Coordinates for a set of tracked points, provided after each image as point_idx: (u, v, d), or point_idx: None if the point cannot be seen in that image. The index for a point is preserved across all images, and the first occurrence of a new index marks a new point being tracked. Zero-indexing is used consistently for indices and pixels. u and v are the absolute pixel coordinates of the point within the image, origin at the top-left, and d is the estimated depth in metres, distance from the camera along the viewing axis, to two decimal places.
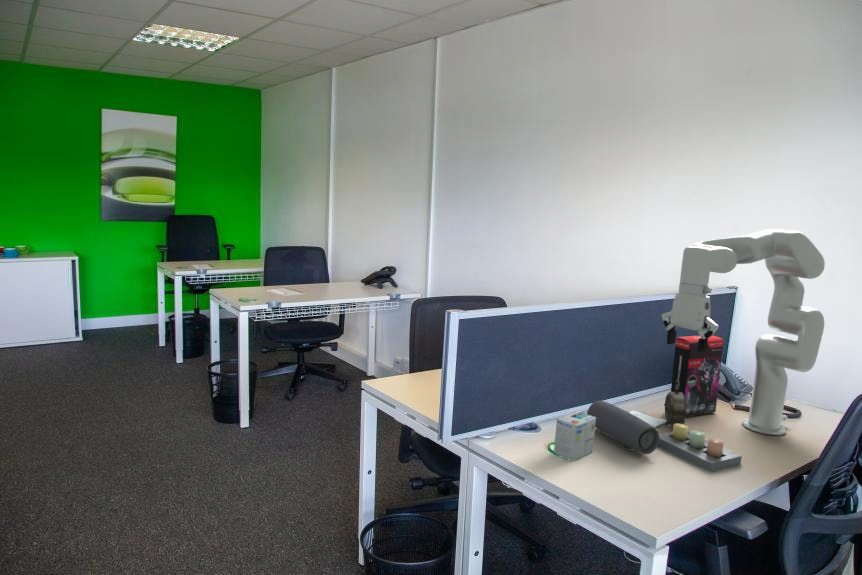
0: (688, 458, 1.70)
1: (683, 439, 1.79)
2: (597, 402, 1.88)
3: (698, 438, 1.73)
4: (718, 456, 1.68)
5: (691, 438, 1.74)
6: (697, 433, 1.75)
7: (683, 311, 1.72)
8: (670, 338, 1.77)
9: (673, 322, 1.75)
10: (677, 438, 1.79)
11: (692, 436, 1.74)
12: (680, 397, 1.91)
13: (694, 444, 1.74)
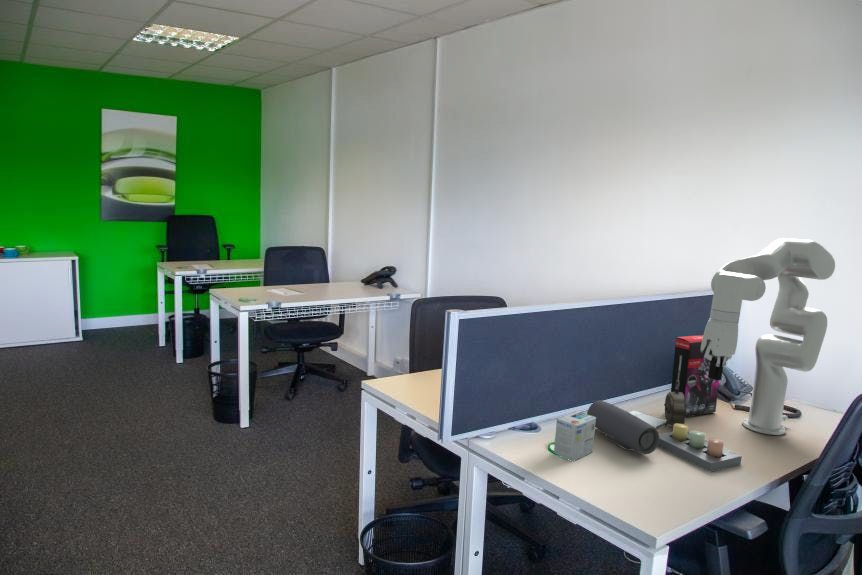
0: (688, 458, 1.70)
1: (683, 439, 1.79)
2: (597, 402, 1.88)
3: (698, 438, 1.73)
4: (718, 456, 1.68)
5: (691, 438, 1.74)
6: (697, 433, 1.75)
7: (727, 340, 1.70)
8: None
9: (717, 353, 1.69)
10: (677, 438, 1.79)
11: (692, 436, 1.74)
12: (680, 397, 1.91)
13: (694, 444, 1.74)
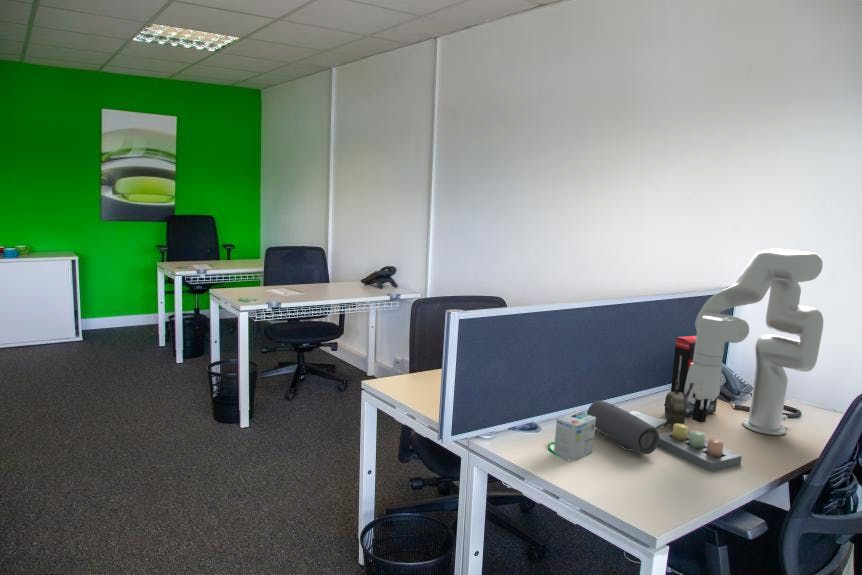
0: (688, 458, 1.70)
1: (683, 439, 1.79)
2: (597, 402, 1.88)
3: (698, 438, 1.73)
4: (718, 456, 1.68)
5: (691, 438, 1.74)
6: (697, 433, 1.75)
7: (710, 383, 1.70)
8: None
9: (700, 397, 1.69)
10: (677, 438, 1.79)
11: (692, 436, 1.74)
12: (680, 397, 1.91)
13: (694, 444, 1.74)
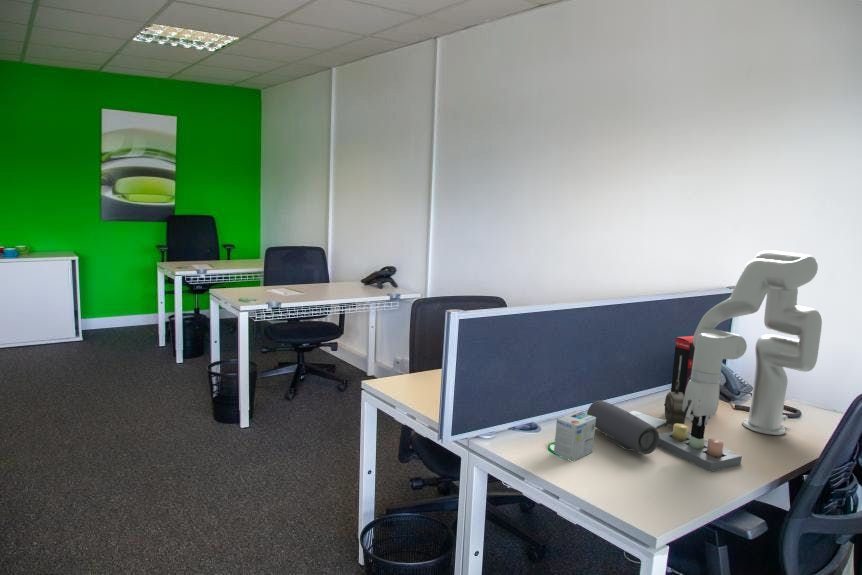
0: (688, 458, 1.70)
1: (683, 439, 1.79)
2: (597, 402, 1.88)
3: (697, 441, 1.73)
4: (718, 456, 1.68)
5: (691, 442, 1.75)
6: None
7: (708, 400, 1.71)
8: None
9: (698, 414, 1.70)
10: (677, 438, 1.79)
11: (691, 440, 1.74)
12: (679, 397, 1.91)
13: None
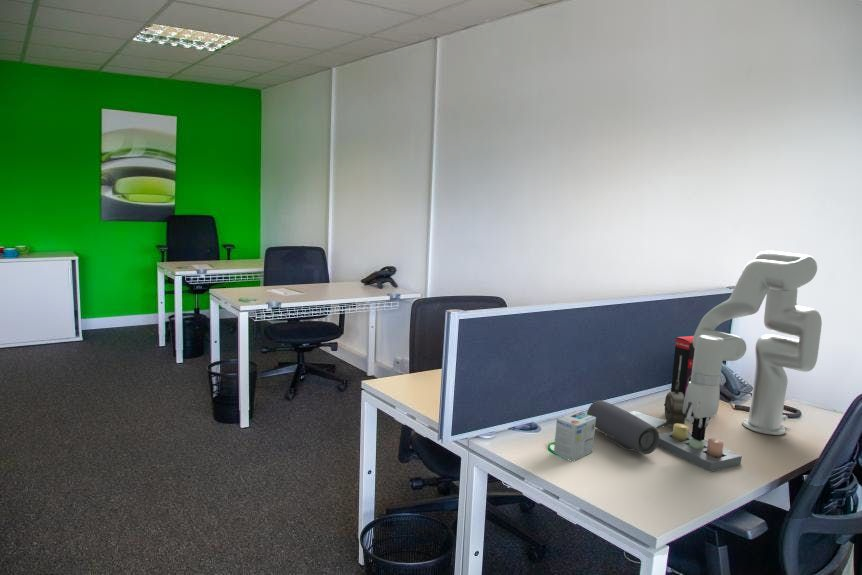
0: (688, 458, 1.70)
1: (683, 439, 1.79)
2: (597, 402, 1.88)
3: (697, 444, 1.73)
4: (718, 456, 1.68)
5: (690, 444, 1.75)
6: (696, 439, 1.75)
7: (708, 402, 1.71)
8: None
9: (698, 416, 1.70)
10: (677, 438, 1.79)
11: (691, 442, 1.74)
12: (679, 397, 1.91)
13: None
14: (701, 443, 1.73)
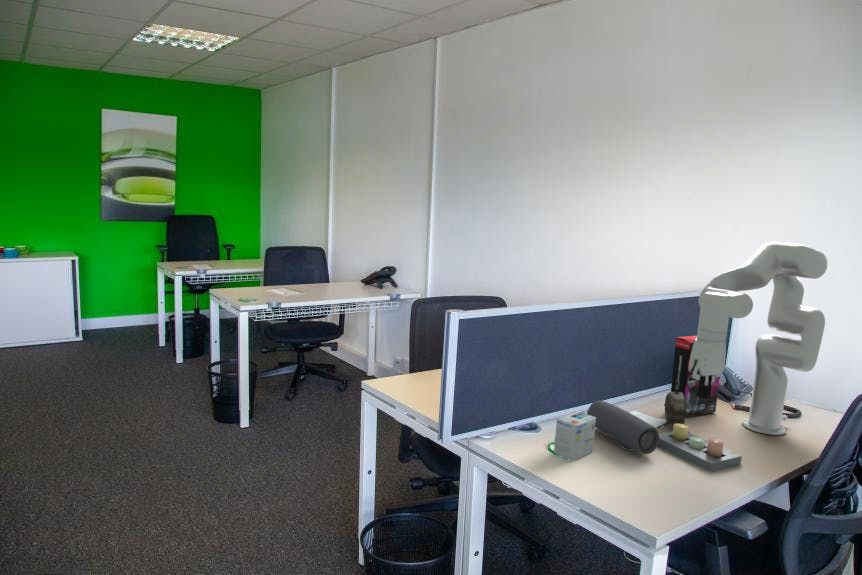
0: (688, 458, 1.70)
1: (683, 439, 1.79)
2: (597, 402, 1.88)
3: (697, 444, 1.73)
4: (718, 456, 1.68)
5: (690, 444, 1.75)
6: (696, 439, 1.75)
7: (715, 359, 1.69)
8: None
9: (705, 373, 1.69)
10: (677, 438, 1.79)
11: (691, 442, 1.74)
12: (680, 397, 1.91)
13: None
14: (701, 443, 1.73)
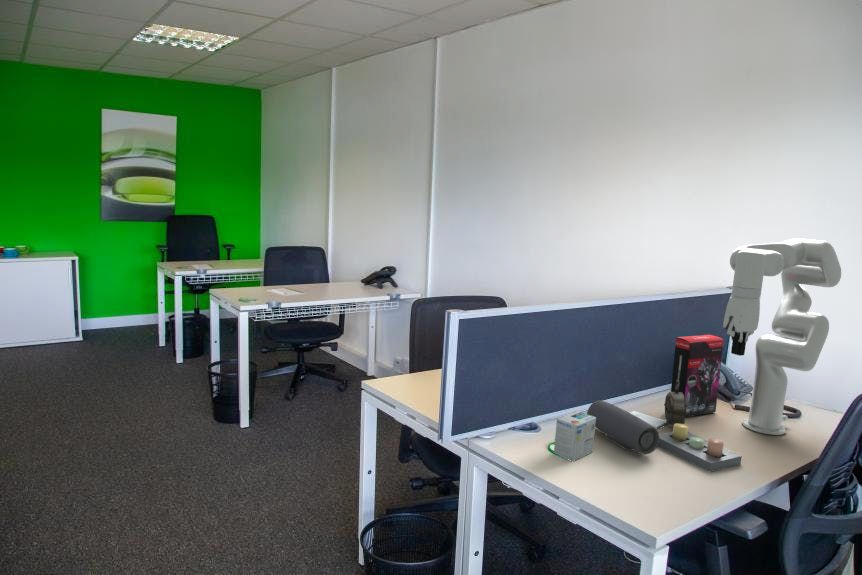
0: (688, 458, 1.70)
1: (683, 439, 1.79)
2: (597, 402, 1.88)
3: (697, 444, 1.73)
4: (718, 456, 1.68)
5: (690, 444, 1.75)
6: (696, 439, 1.75)
7: (749, 316, 1.73)
8: None
9: (739, 329, 1.73)
10: (677, 438, 1.79)
11: (691, 442, 1.74)
12: (679, 397, 1.91)
13: None
14: (701, 443, 1.73)
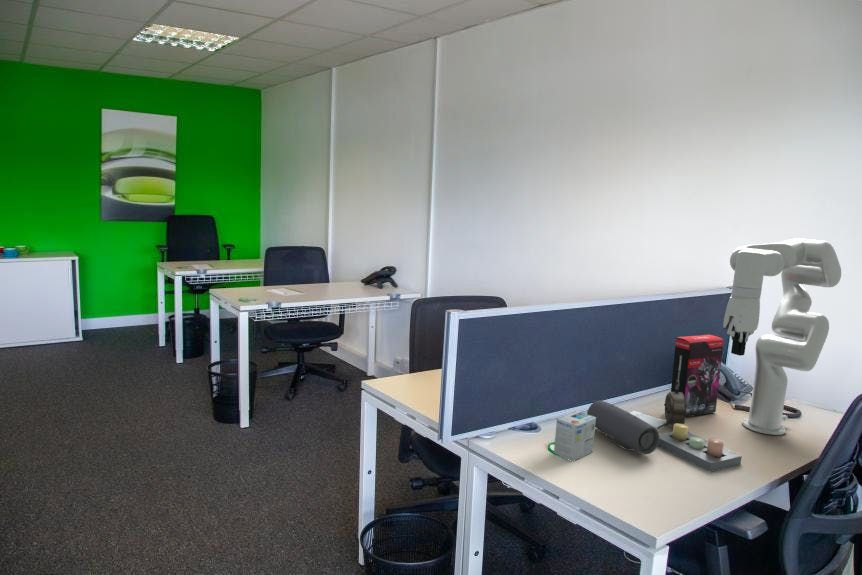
0: (688, 458, 1.70)
1: (683, 439, 1.79)
2: (597, 402, 1.88)
3: (697, 444, 1.73)
4: (718, 456, 1.68)
5: (690, 444, 1.75)
6: (696, 439, 1.75)
7: (749, 316, 1.73)
8: None
9: (739, 329, 1.73)
10: (677, 438, 1.79)
11: (691, 442, 1.74)
12: (679, 397, 1.91)
13: None
14: (701, 443, 1.73)
